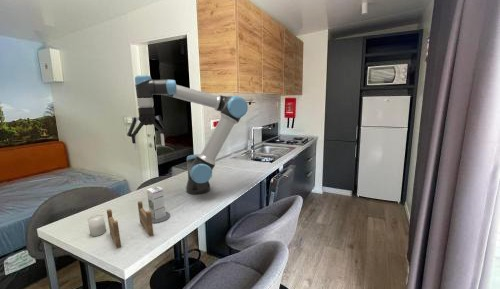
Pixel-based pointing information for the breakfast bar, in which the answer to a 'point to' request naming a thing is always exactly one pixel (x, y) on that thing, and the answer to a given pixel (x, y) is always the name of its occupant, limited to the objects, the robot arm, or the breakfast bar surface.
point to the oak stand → (144, 221)
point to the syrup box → (156, 202)
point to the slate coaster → (161, 218)
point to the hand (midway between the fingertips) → (150, 147)
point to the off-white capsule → (97, 225)
